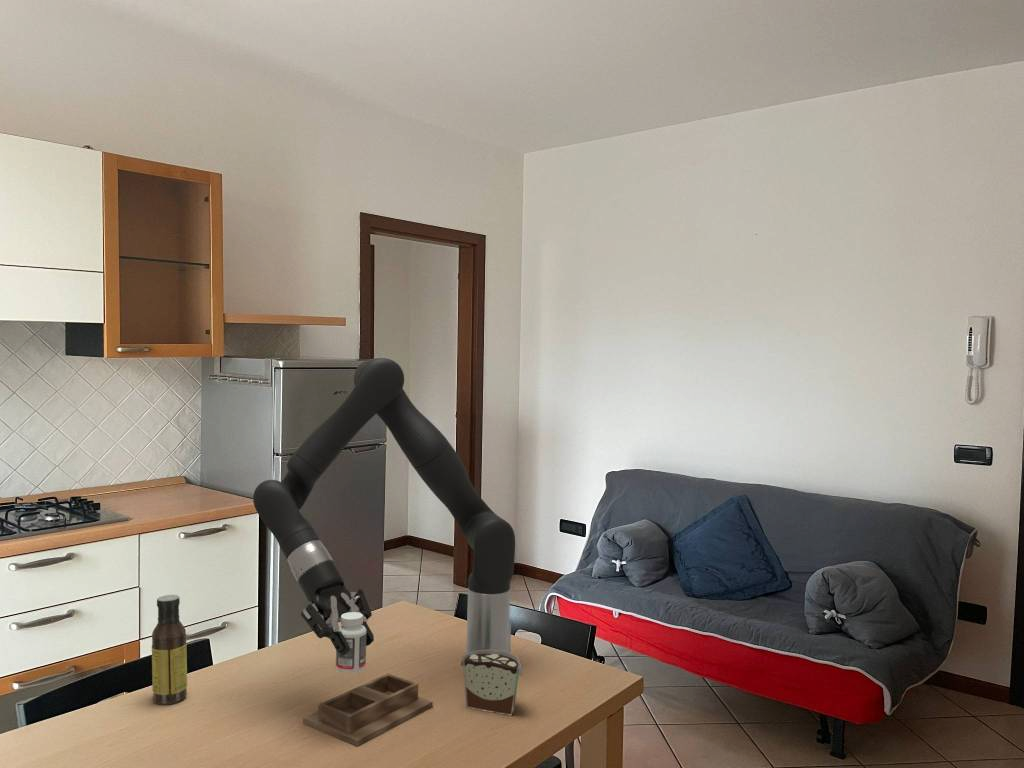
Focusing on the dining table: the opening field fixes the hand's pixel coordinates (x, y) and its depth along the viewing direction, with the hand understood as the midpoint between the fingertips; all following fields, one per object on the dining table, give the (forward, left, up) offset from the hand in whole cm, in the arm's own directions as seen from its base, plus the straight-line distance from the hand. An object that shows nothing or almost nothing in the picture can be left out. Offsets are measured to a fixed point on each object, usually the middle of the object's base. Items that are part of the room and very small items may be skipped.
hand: (358, 647), depth 146 cm
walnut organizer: (-5, -2, -15) cm, 16 cm away
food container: (-23, +14, -15) cm, 31 cm away
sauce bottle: (+14, -37, -15) cm, 42 cm away
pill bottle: (0, -2, -4) cm, 5 cm away
